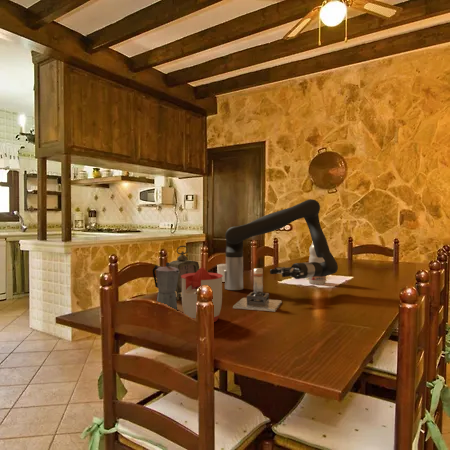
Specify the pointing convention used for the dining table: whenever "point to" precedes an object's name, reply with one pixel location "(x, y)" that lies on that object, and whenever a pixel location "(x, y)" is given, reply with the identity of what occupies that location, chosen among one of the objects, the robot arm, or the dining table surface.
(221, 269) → the white cup
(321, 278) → the fruit juice
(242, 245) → the robot arm
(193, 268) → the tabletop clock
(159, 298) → the moka pot
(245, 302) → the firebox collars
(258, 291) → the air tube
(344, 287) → the dining table surface
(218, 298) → the citrus juicer
